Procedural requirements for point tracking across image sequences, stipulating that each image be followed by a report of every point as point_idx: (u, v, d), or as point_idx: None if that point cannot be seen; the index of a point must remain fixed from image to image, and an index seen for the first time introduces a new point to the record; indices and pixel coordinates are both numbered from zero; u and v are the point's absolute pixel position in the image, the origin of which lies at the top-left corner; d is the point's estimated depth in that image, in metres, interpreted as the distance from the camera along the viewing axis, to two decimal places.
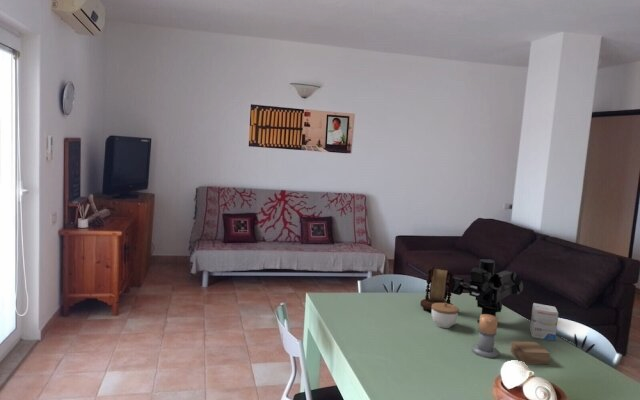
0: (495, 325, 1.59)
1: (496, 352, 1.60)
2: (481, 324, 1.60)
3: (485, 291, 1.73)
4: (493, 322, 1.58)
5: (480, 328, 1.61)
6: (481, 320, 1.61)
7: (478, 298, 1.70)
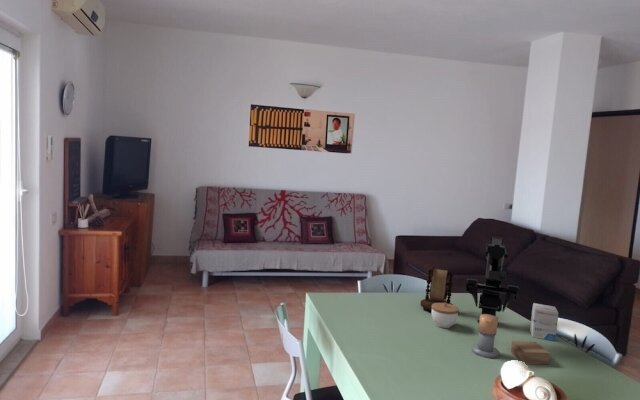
0: (495, 325, 1.59)
1: (496, 352, 1.60)
2: (481, 324, 1.60)
3: (507, 296, 1.69)
4: (493, 322, 1.58)
5: (480, 328, 1.61)
6: (481, 320, 1.61)
7: (504, 309, 1.67)
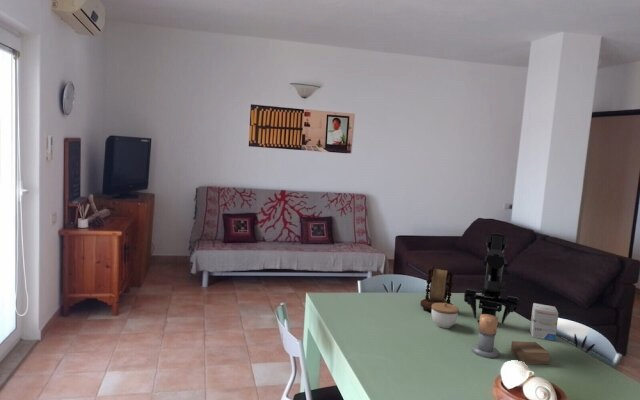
0: (495, 325, 1.59)
1: (496, 352, 1.60)
2: (481, 324, 1.60)
3: (507, 307, 1.63)
4: (493, 322, 1.58)
5: (480, 328, 1.61)
6: (481, 320, 1.61)
7: (503, 320, 1.62)
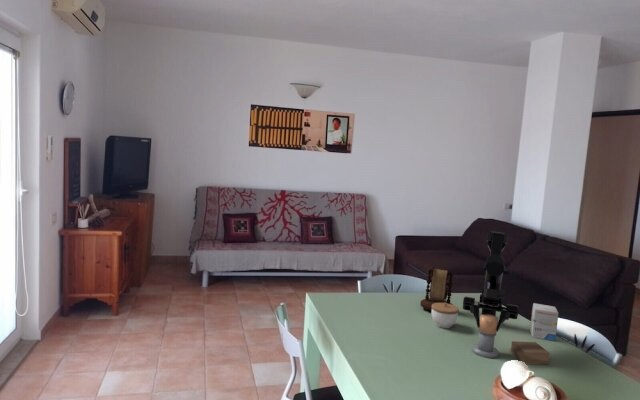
0: (495, 325, 1.59)
1: (496, 352, 1.60)
2: (481, 324, 1.60)
3: (502, 315, 1.61)
4: (493, 322, 1.58)
5: (480, 328, 1.61)
6: (481, 320, 1.61)
7: (499, 328, 1.60)
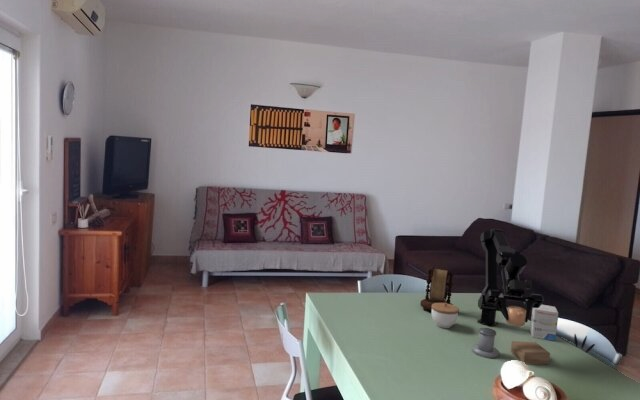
0: (525, 316, 1.57)
1: (496, 352, 1.60)
2: (511, 317, 1.57)
3: (528, 305, 1.59)
4: (524, 314, 1.56)
5: (510, 321, 1.58)
6: (511, 312, 1.57)
7: None
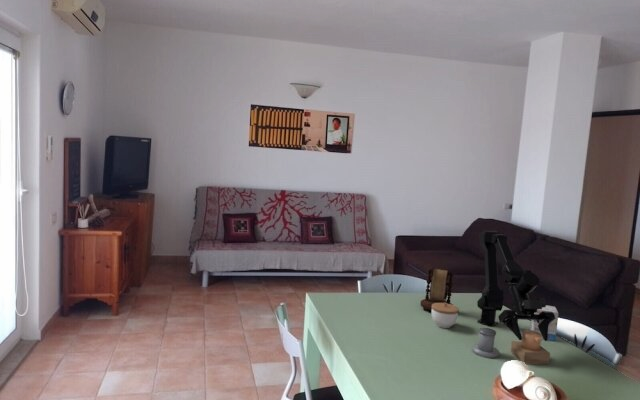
0: (540, 341, 1.58)
1: (496, 352, 1.60)
2: (528, 342, 1.58)
3: (546, 323, 1.61)
4: None
5: (526, 346, 1.58)
6: (528, 338, 1.58)
7: None
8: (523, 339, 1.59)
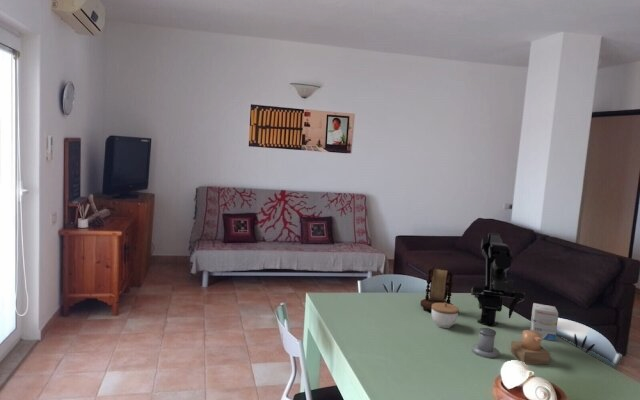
0: (540, 341, 1.58)
1: (496, 352, 1.60)
2: (528, 342, 1.58)
3: (513, 302, 1.71)
4: None
5: (526, 346, 1.58)
6: (528, 338, 1.58)
7: None
8: (523, 339, 1.59)
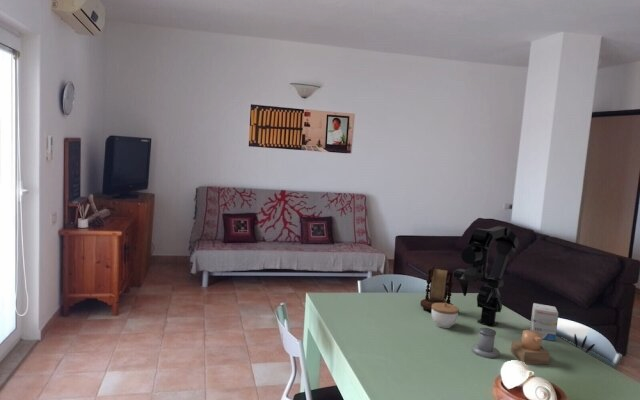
0: (540, 341, 1.58)
1: (496, 352, 1.60)
2: (528, 342, 1.58)
3: (488, 289, 1.76)
4: None
5: (526, 346, 1.58)
6: (527, 338, 1.58)
7: (488, 300, 1.78)
8: (523, 339, 1.60)
